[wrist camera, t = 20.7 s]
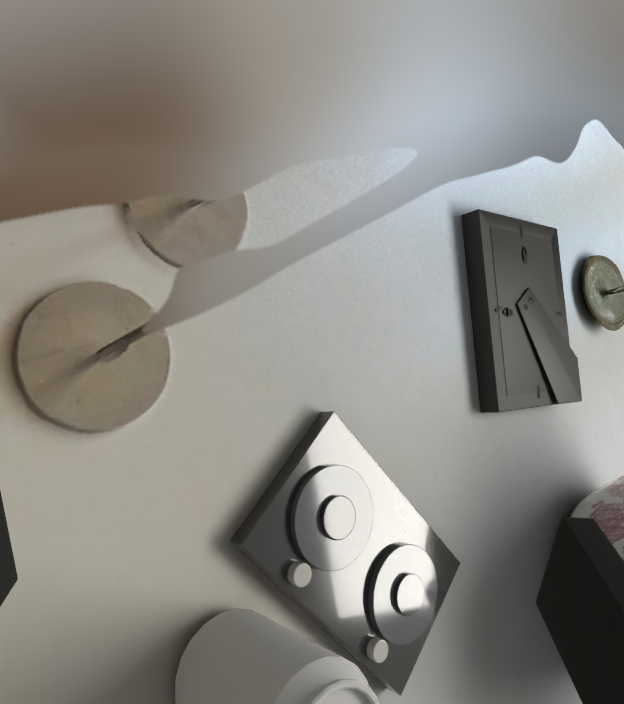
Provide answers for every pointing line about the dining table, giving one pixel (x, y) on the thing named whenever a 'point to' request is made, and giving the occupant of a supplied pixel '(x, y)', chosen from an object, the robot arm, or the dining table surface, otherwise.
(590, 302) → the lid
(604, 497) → the chamber pot
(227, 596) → the dining table surface
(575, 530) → the robot arm
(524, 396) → the picture frame
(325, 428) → the hob
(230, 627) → the can
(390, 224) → the dining table surface
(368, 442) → the dining table surface
